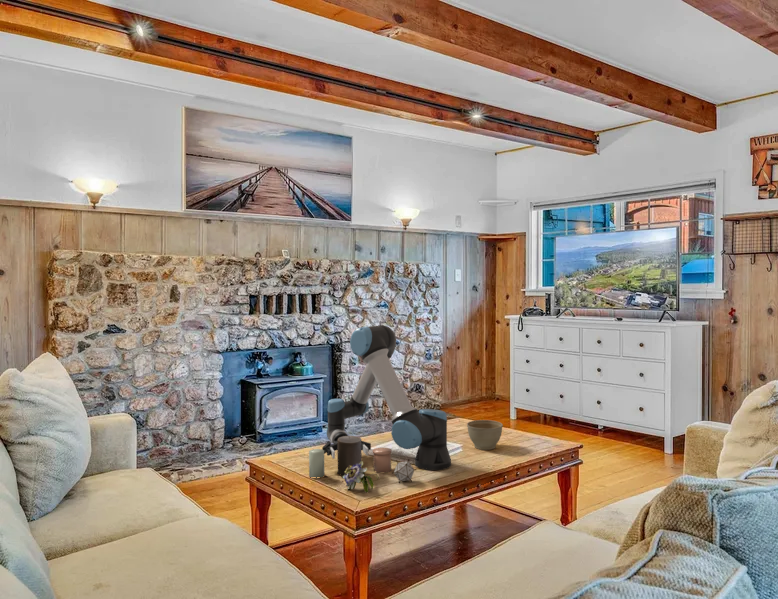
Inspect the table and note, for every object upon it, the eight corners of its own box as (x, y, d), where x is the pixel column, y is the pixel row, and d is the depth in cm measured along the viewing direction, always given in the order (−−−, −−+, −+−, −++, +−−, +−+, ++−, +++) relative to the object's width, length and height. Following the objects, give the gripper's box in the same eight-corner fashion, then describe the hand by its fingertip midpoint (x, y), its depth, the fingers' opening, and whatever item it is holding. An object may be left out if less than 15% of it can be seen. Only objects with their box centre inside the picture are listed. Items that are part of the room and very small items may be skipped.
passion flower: (349, 504, 222) (334, 475, 226) (372, 492, 229) (357, 464, 233) (362, 494, 214) (346, 464, 218) (385, 482, 221) (369, 453, 225)
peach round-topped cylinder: (395, 468, 247) (395, 449, 247) (386, 473, 240) (385, 453, 240) (378, 465, 251) (378, 446, 250) (369, 471, 244) (369, 451, 244)
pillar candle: (338, 477, 236) (338, 440, 235) (336, 468, 246) (336, 433, 245) (363, 476, 238) (363, 438, 237) (360, 467, 247) (359, 431, 246)
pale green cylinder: (327, 475, 239) (327, 450, 239) (318, 479, 234) (318, 454, 234) (315, 472, 242) (314, 448, 242) (306, 477, 237) (305, 452, 237)
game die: (407, 492, 230) (413, 476, 224) (387, 483, 231) (392, 467, 225) (415, 474, 237) (420, 459, 231) (395, 466, 238) (400, 450, 232)
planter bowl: (464, 443, 285) (464, 420, 284) (498, 442, 285) (498, 419, 285) (470, 452, 269) (470, 428, 268) (506, 452, 269) (506, 427, 269)
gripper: (368, 446, 263) (381, 460, 243) (311, 451, 256) (319, 465, 236) (368, 429, 263) (381, 441, 242) (311, 433, 256) (319, 446, 236)
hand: (350, 453), depth 239 cm, fingers open, 13 cm apart
